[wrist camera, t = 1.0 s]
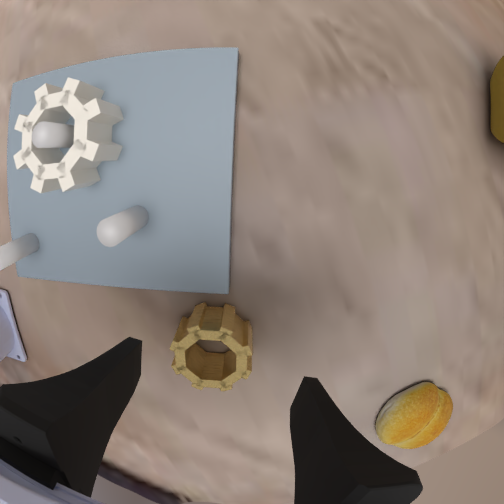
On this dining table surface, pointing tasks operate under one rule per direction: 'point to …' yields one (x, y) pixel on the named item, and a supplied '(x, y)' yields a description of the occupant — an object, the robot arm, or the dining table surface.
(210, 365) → the brass gear
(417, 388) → the bread roll
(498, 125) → the flower pot
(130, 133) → the gear board
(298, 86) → the dining table surface
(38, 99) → the gear
